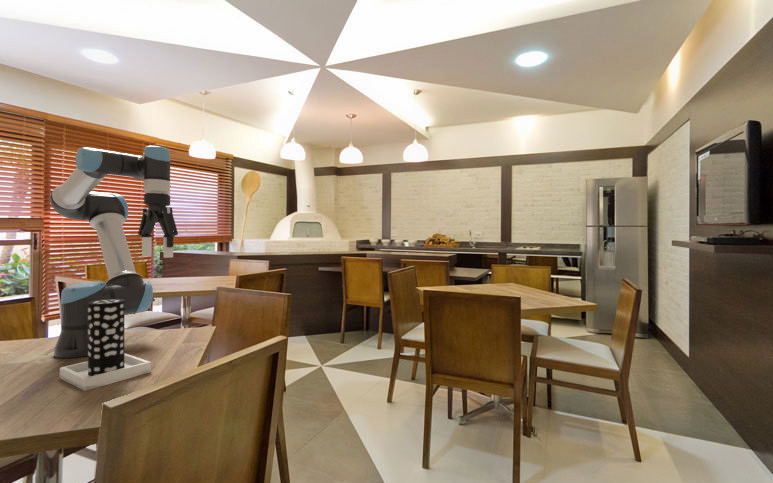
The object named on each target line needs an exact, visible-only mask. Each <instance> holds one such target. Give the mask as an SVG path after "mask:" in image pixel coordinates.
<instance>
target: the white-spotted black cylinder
mask: <svg viewBox="0 0 773 483" xmlns="http://www.w3.org/2000/svg"><path fill="white" fill-rule="evenodd" d="M124 353H125V315H124V300H123V299H107V300H98V301H92V302H89V303H88V356H87V361H88V375H89V376H95V375H99V374H103V373H106V372H110V371H114V370H118V369H122V368H124Z"/></svg>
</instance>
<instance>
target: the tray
mask: <svg viewBox="0 0 773 483" xmlns="http://www.w3.org/2000/svg"><path fill="white" fill-rule="evenodd" d="M150 373H152V362H151V361H149V360H146V359H143V358H140V357H138V356H135V355H132V354H129V353H127V352H126V353H125V352H124V368H122V369H118V370H114V371H110V372H106V373H103V374H99V375H95V376H89V375H88V360H87V361H83V362H79V363H75V364H70V365H66V366H61V367H59V379H60V380H61V381H64V382H66V383H68V384H70V385H72V386H74V387H75V388H78V389H80V390H81V391H84V392H85V391H90V390H94V389H97V388H101V387H104V386H107V385H111V384H114V383H119V382H122V381H124V380H129V379H132V378H136V377H138V376H142V375H146V374H150Z"/></svg>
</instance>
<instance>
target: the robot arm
mask: <svg viewBox="0 0 773 483" xmlns="http://www.w3.org/2000/svg"><path fill="white" fill-rule="evenodd" d="M142 154H143V155H135V154H129V153H123V152H117V151H112V150H107V149H106V150H105V149H101V148H100V149H99V148H95V147H79V148H78V149H77V151H76V155H75V165H76V168H75V169H74V170H73V172H71V174H70V175H69V177H68V178H67V179H66V180H65V181H64V183H63V184H60V185H58V186H56V187H55V188H54V189H53V190H52V192H51V193H50V195H49V202H50V205H51V207H52V208H53V210H54V211H55V212H56V213H57V214H59V215H60V216H62V217H64V218H66V219H70V220H74V221H89V226H90V227H91V228H92V229H95V230H96V234H97V238H98V242H99V245H100V249H101V253H102V258H103V260H104V261H103V262H104V264H105V268H106V272H107V273H106V274H107V277H108V279H107V280H106V282H104V281H102V280H97V281H96V280H94V281H87V282H81V283H75V284H71V285H68V286H66V287H64V288H63V289H62V290H61V294H60V295H61V297H60V301H59V302H60V332H59V333H60V334H59V336H58V338H57V340H56V344H55V346H54V349H53V356H54V357H55V358H62V359H69V358H70V359H71V358H72V359H73V358H74V359H75V358H82V357H88V303H89V302H92V301H98V300H107V299H123V300H124V316H128V315H135V314H139V313H144V312H146V311H147V310H148V309H149V308H150V307H151V305H152V302H153V295H154V290H153V285H152V283H151V282H150V281H147V280H143V276H142V274H140V273H138V272H136V268H135V264H134V261H133V258H132V255H131V252H130V251H131V250H130V248H129V245H128V240H127V237H126V234H125V231H124V227H123V225H124V223H125V222H126V220H127V219H128V216H129V205H128V202H127V201H126V198H125V197H124V196H122V194H120V193H119V194H118V193H112V192H108V191H107V192H99V191H93V190H94V189H95V188H96V187H97V186H98V185H99V184H100V183H101V182H102V180H104V179H105V177H107V176H108V175H111V176H112V175H114V176H119V177H120V176H121V177H129V178H133V179H135V180H143V192H144V194H143V203H144V205H145V206H148V208H145V207H144V208H143V209H142V216H141V220H140V224H139V228H138V232H137V235H138V236H140V237H141V244H142V245H141V257H152V245H153V244H152V237H153V235H152V232H153V231H154V229H155V226H156V224H157V223H158V224H159V226H160V227H161V230H162V232H163V236H162V237H163V258H164V259H167V258H174V238H175V237H176V236H178V235H179V232H178V229H177V225H176V221H175V218H174V213H173V207H171V206H170V205H171V195H170V193H171V187H172V186H171V161H172V159H171V151H170V150H169V149H168V148H166V147H163V146H158V145H147V146H145V147H144V149H143V153H142ZM169 206H170V207H169Z"/></svg>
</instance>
